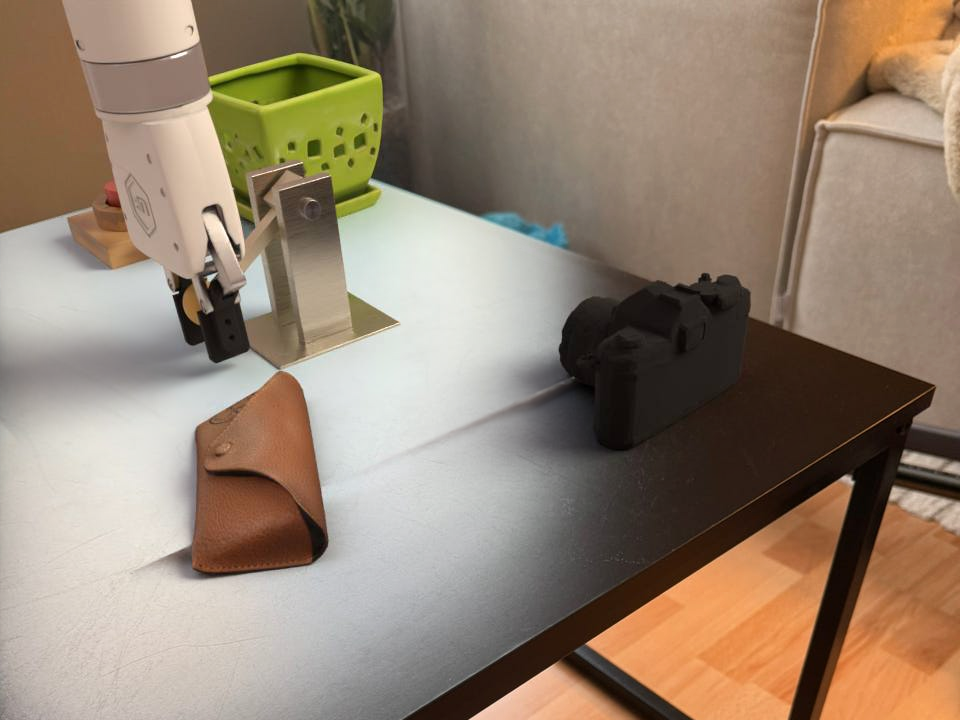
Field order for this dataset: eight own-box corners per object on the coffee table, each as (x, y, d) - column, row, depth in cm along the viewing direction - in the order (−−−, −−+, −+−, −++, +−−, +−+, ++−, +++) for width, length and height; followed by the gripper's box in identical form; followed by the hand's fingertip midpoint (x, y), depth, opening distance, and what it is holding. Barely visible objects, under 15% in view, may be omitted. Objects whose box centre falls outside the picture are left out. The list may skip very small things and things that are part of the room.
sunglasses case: (186, 422, 72) (217, 340, 68) (280, 452, 75) (313, 376, 72) (189, 578, 59) (226, 487, 56) (302, 606, 62) (344, 522, 59)
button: (119, 213, 94) (113, 194, 93) (102, 202, 97) (97, 183, 96) (158, 202, 96) (154, 183, 95) (141, 192, 99) (136, 173, 97)
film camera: (654, 338, 79) (663, 222, 73) (757, 379, 74) (776, 258, 68) (517, 412, 72) (514, 290, 66) (620, 463, 67) (628, 336, 61)
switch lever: (215, 341, 75) (185, 313, 72) (196, 326, 77) (166, 299, 74) (327, 206, 75) (301, 174, 72) (306, 195, 77) (279, 163, 74)
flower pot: (321, 181, 109) (302, 48, 100) (401, 214, 101) (387, 73, 92) (208, 218, 102) (177, 79, 94) (283, 256, 95) (257, 108, 86)
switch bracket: (283, 381, 77) (249, 210, 68) (228, 341, 82) (191, 177, 74) (402, 336, 82) (384, 170, 73) (343, 300, 87) (320, 142, 78)
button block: (112, 270, 94) (100, 227, 91) (73, 239, 100) (60, 198, 97) (210, 241, 98) (200, 198, 95) (166, 213, 104) (156, 172, 101)
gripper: (45, 73, 68) (128, 330, 80) (149, 120, 58) (225, 404, 70) (148, 49, 71) (212, 300, 83) (262, 89, 61) (316, 367, 74)
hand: (217, 345), depth 77 cm, fingers closed on switch lever, 3 cm apart
